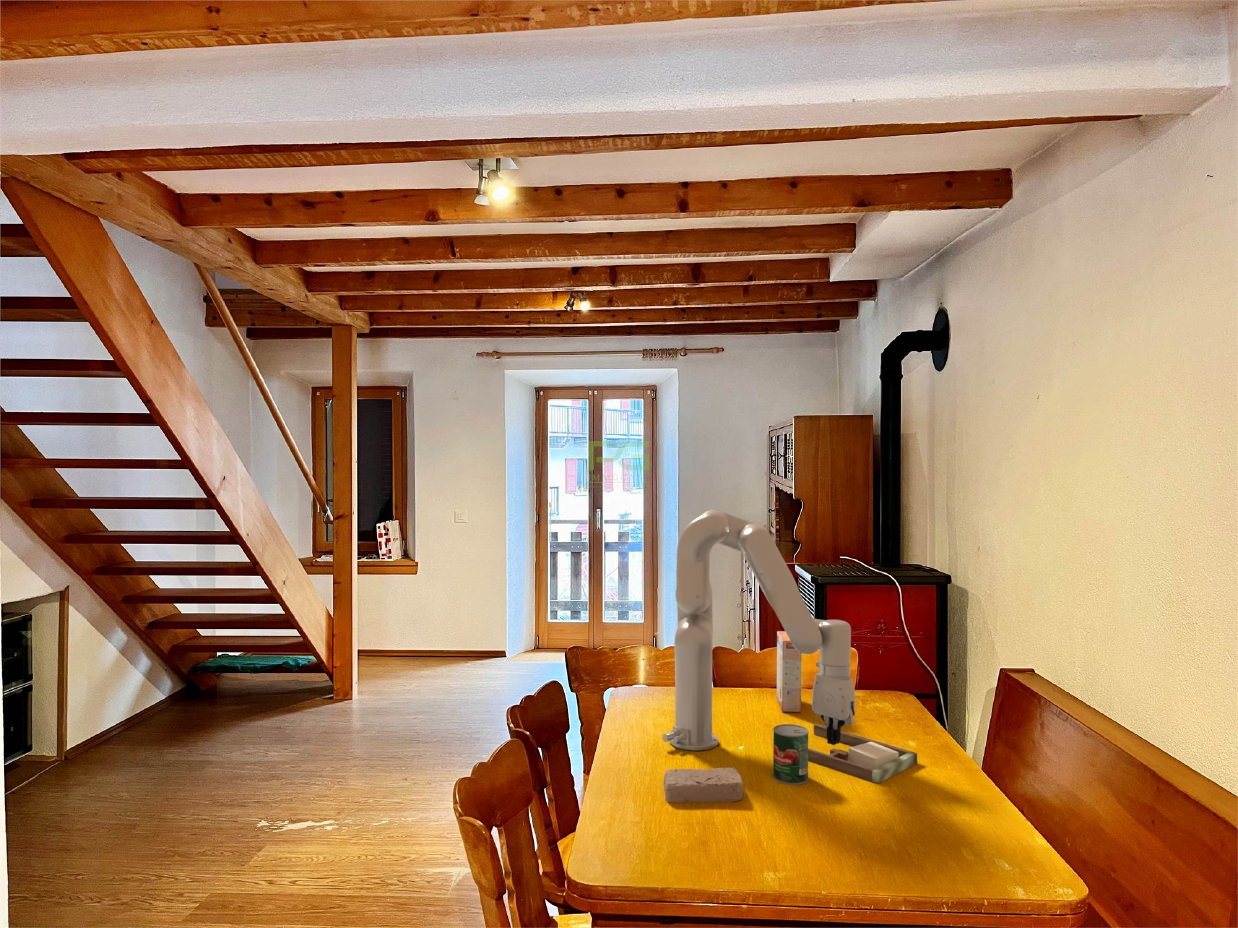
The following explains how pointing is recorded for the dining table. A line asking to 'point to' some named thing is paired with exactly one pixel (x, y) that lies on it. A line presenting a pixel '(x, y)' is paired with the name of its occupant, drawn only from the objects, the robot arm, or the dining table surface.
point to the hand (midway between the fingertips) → (833, 742)
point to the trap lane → (841, 763)
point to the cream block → (871, 755)
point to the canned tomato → (790, 754)
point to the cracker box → (788, 674)
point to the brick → (703, 785)
